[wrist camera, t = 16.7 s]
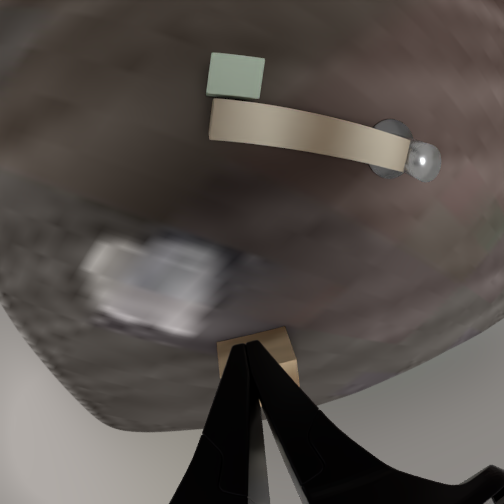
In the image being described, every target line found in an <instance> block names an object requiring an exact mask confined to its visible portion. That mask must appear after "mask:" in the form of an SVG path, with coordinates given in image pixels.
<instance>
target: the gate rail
mask: <svg viewBox="0 0 504 504" xmlns="http://www.w3.org/2000/svg"><path fill="white" fill-rule="evenodd" d="M208 133H209V140H220V141H231V142H241V143H250V144H258V145H266V146H274V147H281V148H288V149H294V150H301V151H307V152H313V153H318V154H324V155H329V156H334V157H339V158H344V159H349V160H354V161H359V162H363V163H368V164H372V165H376V166H380V167H384V168H388V169H392V170H396V171H400V172H403V170H404V166H405V162H406V158H407V153H408V149H409V145H410V140H408V139H405V138H402V137H399V136H396V135H393V134H390V133H387V132H384V131H381V130H377V129H374V128H371V127H367V126H364V125H360V124H357V123H353V122H349V121H345V120H341V119H337V118H333V117H329V116H325V115H320V114H316V113H311V112H306V111H301V110H296V109H291V108H285V107H279V106H273V105H267V104H260V103H253V102H246V101H237V100H228V99H218V98H214V99H213V100H212V108H211V116H210V124H209V132H208Z"/></svg>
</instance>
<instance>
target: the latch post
mask: <svg viewBox="0 0 504 504" xmlns="http://www.w3.org/2000/svg"><path fill="white" fill-rule="evenodd" d="M264 63H265V59H263V58H256V57H249V56H242V55H233V54H224V53H212V55H211V62H210V68H209V75H208V83H207V91H206V96H214V97H225V98H235V99H244V100H250V99H259V97H260V90H261V83H262V77H263V70H264Z"/></svg>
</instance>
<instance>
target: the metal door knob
mask: <svg viewBox="0 0 504 504" xmlns="http://www.w3.org/2000/svg"><path fill="white" fill-rule="evenodd" d="M373 128H374V129H377V130H381V131H384V132H387V133H390V134H393V135H396V136H399V137H402V138H405V139H408V140H410V145H409V149H408V153H407V158H406V162H405V166H404V170H403V172H400V171H396V170H392V169H388V168H384V167H380V166H376V165H372V164H369V166H370V168H371V169H372V171H373V172H374V173H375V174H377V175H378V176H380V177H383V178H387V179H392V178H396V177H398V176H400V175H402V174H403V173H406V174H408V175H410V176H412V177H414V178H416V179H418V180H420V181H422V182H430V181H432V180H433V179H434V178H435V177H436V176H437V175H438V173H439V170H440V167H441V156H440V153H439V151H438V149H437V148H436V147H435V146H434V145H431V144H428V143H425V142H422V141H419V140H415V139H413V136H412V134H411V132H410V130H409V129H408V127H407V126H406V125H405V124H403V123H402V122H400V121H398V120H394V119H386V120H383V121H380V122H379V123H377V124H376V125H375V126H374V127H373Z"/></svg>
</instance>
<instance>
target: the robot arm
mask: <svg viewBox="0 0 504 504" xmlns="http://www.w3.org/2000/svg"><path fill="white" fill-rule="evenodd" d="M260 403H261V406H262V408H263V411H264V414H265V416H266V419H267V421H268V423H269V426H270V429H271V431H272V434H273V436H274V438H275V441H276V443H277V445H278V448H279V451H280V453H281V455H282V457H283V460H284V462H285V465H286V467H287V469H288V472H289V474H290V476H291V479H292V481H293V483H294V485H295V488H296V490H297V492H298V495H299V497H300V499H301V501H302V503H303V504H504V470H503V469H500V468H498V467H496V466H494V465H489V466H487V467H486V468H484V469H483V470H481V471H480V472H478V473H477V474H475V475H474V476H472V477H470V478H469V479H467V480H465V481H464V482H462V483H460V484H459V485H448V484H443V483H439V482H435V481H432V480H428V479H424V478H421V477H418V476H414V475H411V474H408V473H405V472H402V471H399V470H396V469H394V468H392V467H390V466H388V465H386V464H385V463H383V462H382V461H380V460H379V459H377V458H376V457H375V456H373V455H372V454H371V453H369V452H368V451H367V450H365V449H364V448H363V447H361V446H360V445H358V444H357V443H356V442H355V441H353V440H352V439H350V438H349V437H348V436H347V435H346V434H345V433H343V432H342V431H341V430H340V429H339V428H338V427H336V426H335V424H334V423H332V422H331V421H330V420H329V419H328V418H327V417H326V416H325V414H324V413H323V412H322V411H321V410H319V408H318V407H317V406H316V405H315V404H314V403H313V402H312V400H311V399H310V398H309V397H308V396H307V395H306V394H305V393H304V392H303V391H302V389H301V388H300V387H299V386H298V385H297V384H296V383H295V382H294V380H293V379H292V378H291V377H290V376H289V375H288V374H287V373H286V371H285V370H284V369H283V368H282V367H281V366H280V364H279V363H278V362H277V361H276V360H275V359H274V358H273V356H272V355H271V354H270V353H269V352H268V351H267V349H266V348H265V347H264V346H263V345H262V344H261V342H260V341H259V340H254V341H249V342H247V343H246V344H245V343H240V344H236V345H233V346H232V348H231V350H230V353H229V356H228V359H227V362H226V365H225V368H224V371H223V374H222V377H221V380H220V383H219V386H218V389H217V391H216V394H215V397H214V400H213V403H212V406H211V409H210V412H209V415H208V417H207V420H206V423H205V426H204V429H203V432H202V434H203V435H201V438H200V440H199V443H198V446H197V448H196V451H195V453H194V456H193V458H192V461H191V463H190V465H189V467H188V469H187V471H186V473H185V475H184V477H183V479H182V481H181V482H180V484H179V486H178V488H177V490H176V492H175V494H174V496H173V497H172V499H171V501H170V503H169V504H270V497H269V487H268V476H267V467H266V457H265V446H264V435H263V425H262V414H261V406H260Z"/></svg>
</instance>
